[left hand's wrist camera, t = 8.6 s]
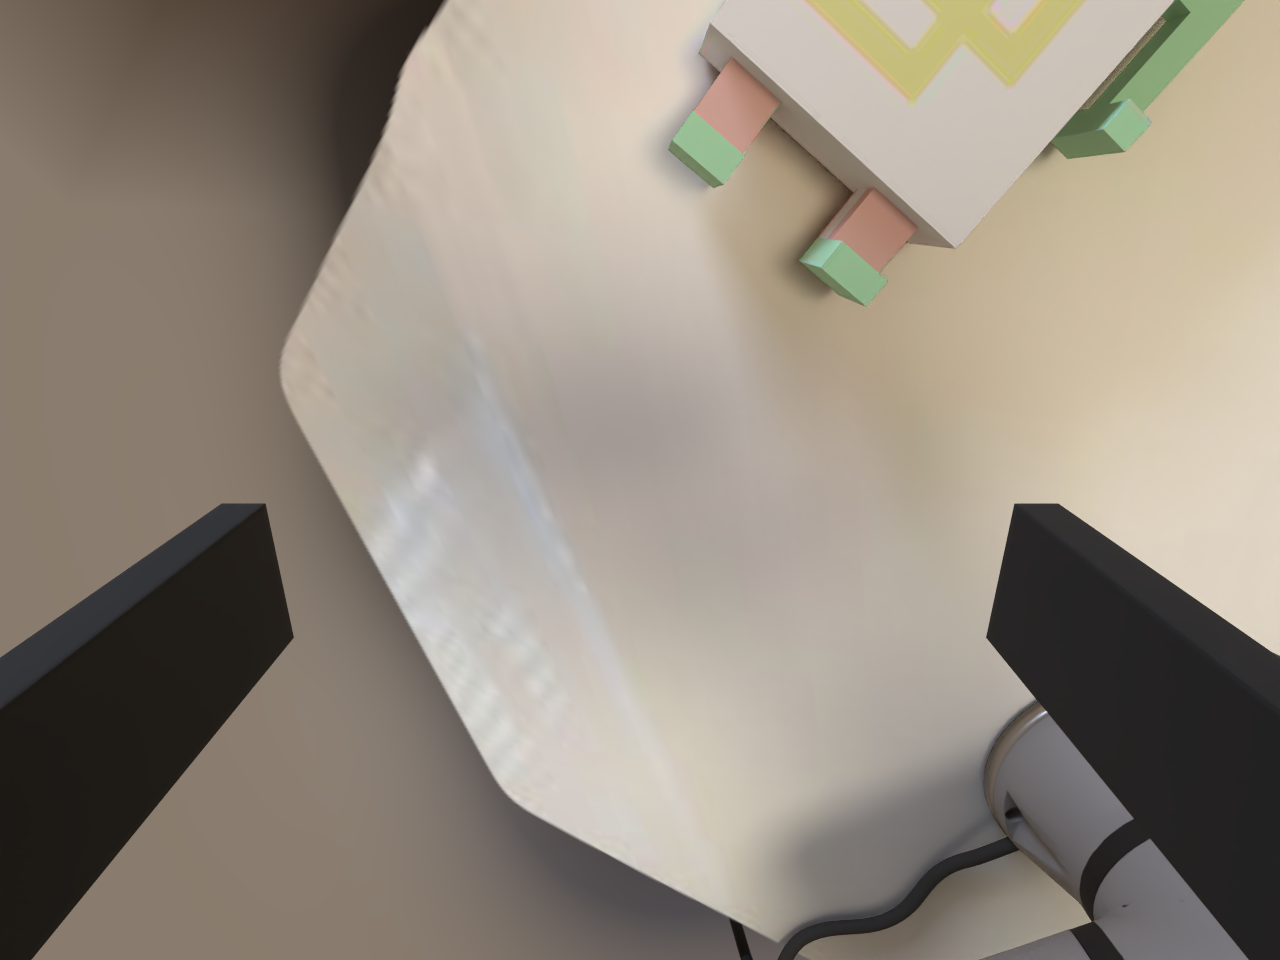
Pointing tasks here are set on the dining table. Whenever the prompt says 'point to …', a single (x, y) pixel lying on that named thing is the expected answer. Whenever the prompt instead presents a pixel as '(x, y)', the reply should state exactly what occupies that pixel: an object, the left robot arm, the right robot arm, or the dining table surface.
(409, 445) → the dining table surface
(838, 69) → the decorative block
